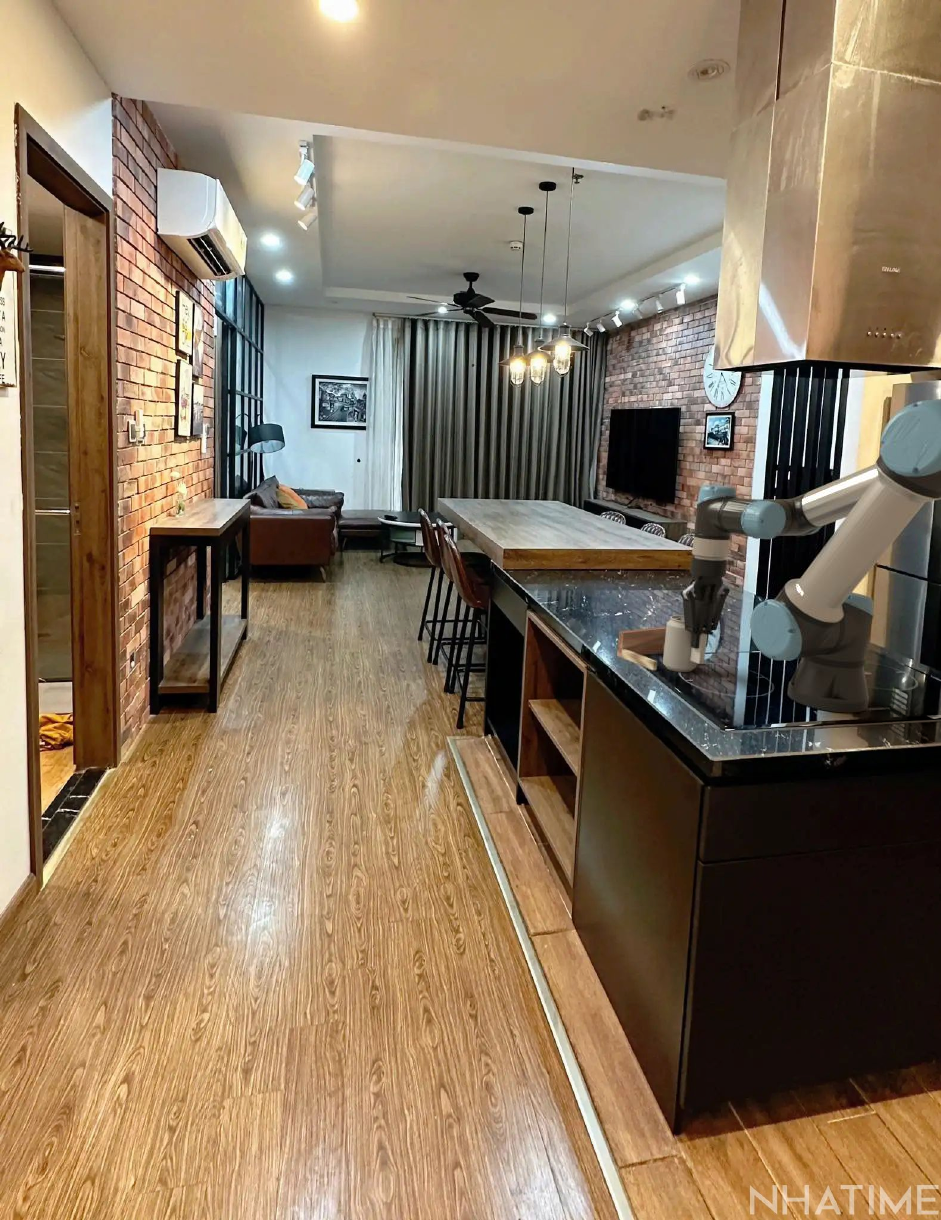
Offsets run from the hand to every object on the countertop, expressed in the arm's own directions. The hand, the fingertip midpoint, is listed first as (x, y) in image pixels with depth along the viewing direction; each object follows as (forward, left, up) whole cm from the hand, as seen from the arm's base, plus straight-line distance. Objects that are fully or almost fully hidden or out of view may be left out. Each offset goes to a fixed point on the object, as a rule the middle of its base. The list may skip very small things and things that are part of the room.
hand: (697, 661), depth 172 cm
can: (+5, 0, -3) cm, 6 cm away
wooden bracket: (+13, 0, -3) cm, 13 cm away
